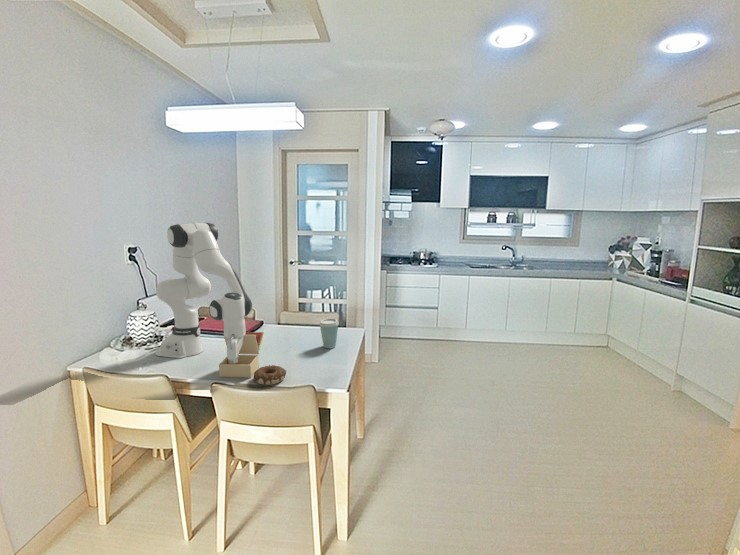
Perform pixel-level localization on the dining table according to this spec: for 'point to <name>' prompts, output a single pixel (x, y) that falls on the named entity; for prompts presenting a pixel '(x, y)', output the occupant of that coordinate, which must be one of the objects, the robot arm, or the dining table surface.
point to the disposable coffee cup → (329, 332)
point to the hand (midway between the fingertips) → (236, 361)
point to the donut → (269, 375)
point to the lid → (248, 345)
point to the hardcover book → (257, 337)
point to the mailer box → (239, 367)
